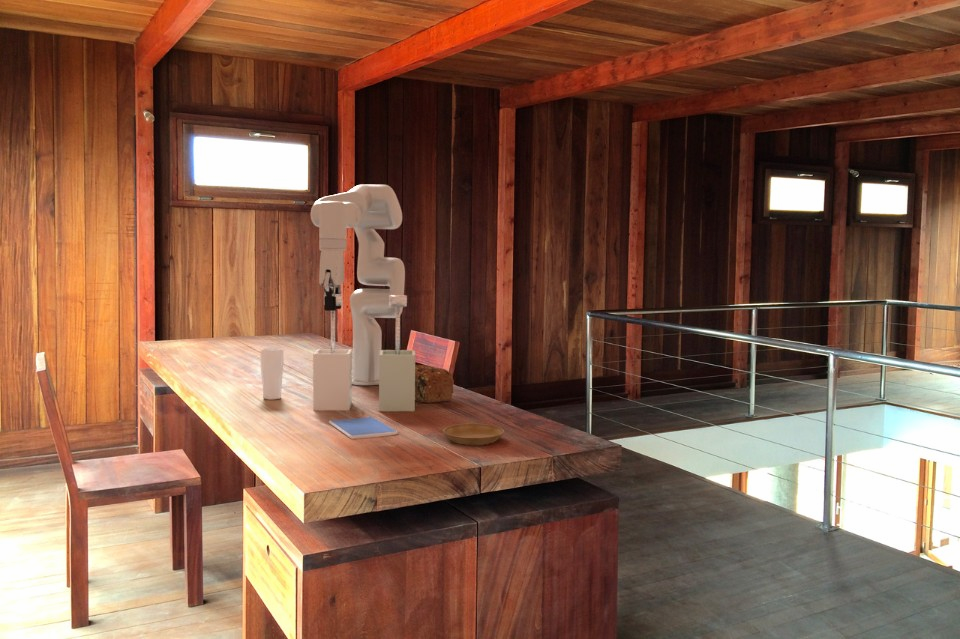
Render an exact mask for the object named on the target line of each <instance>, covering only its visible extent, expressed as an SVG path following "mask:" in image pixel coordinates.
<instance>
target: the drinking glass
mask: <svg viewBox="0 0 960 639" xmlns="http://www.w3.org/2000/svg"><path fill="white" fill-rule="evenodd" d="M259 355H260V357H259V359H260V360H259V361H260V371H261V381H262V382H261V384H262V397H263V399H264V400H267V401H269V400H271V401H272V400H273V401H274V400H279V399H281V398H282V387H283V376H284V365H285V364H284V363H285V362H284V360H285V359H284V358H285V357H284V355H285V354H284V348H282V347H263V348H261V349H260V354H259Z"/></svg>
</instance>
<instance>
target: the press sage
mask: <svg viewBox="0 0 960 639" xmlns="http://www.w3.org/2000/svg"><path fill="white" fill-rule="evenodd" d="M415 365H416V350H413V349H411V350H410V349H409V350H408V349H407V350H406V349H401V350H400V355H395V349H381V350H380V354H379V385H378V389H379V390H378V391H379V392H378V412H415V411H416V410H415V409H416V408H415V406H416V405H415V403H416V400H415Z"/></svg>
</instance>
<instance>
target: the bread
mask: <svg viewBox="0 0 960 639" xmlns="http://www.w3.org/2000/svg"><path fill="white" fill-rule="evenodd" d="M454 383H455V382H454V378H453V374H452V373H451V372H449V370H447V369H445V368H442V367H437V366H433V365H431V366H429V365H423V364H415V401H417V402H420V403H426V404H427V403H429V404H430V403H431V404H432V403H440V402H441V403H442V402H449V401H451V400H452V398H453V394H454Z"/></svg>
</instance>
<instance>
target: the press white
mask: <svg viewBox="0 0 960 639" xmlns="http://www.w3.org/2000/svg"><path fill="white" fill-rule="evenodd" d="M312 370H313V372H312V373H313V374H312V376H313V377H312V380H313V382H312V385H313V386H312V387H313V388H312V389H313V390H312V391H313V392H312V393H313V394H312V396H313V398H312V400H313V401H312V402H313V404H312V406H313V407H312V408H313V411H350V409H351V406H352V401H353V400H352V399H353V397H352V396H353V394H352V393H353V391H352V388H353V384H352V377H353V348H347V349H346V348H344V349H343V348H342V349H341V348H340V349H339V348H335V354H331V348H316V350H315V351H314V353H313V355H312Z"/></svg>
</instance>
